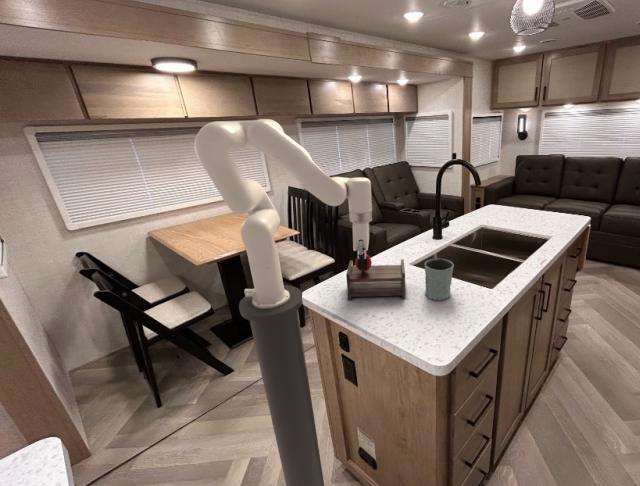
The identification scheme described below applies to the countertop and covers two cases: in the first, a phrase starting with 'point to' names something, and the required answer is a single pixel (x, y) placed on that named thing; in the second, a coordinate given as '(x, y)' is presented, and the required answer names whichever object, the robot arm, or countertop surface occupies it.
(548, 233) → the countertop surface
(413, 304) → the countertop surface
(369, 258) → the onion
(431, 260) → the green cup
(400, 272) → the wooden crate
